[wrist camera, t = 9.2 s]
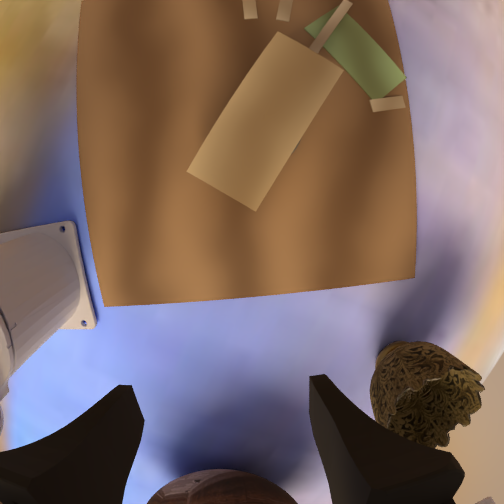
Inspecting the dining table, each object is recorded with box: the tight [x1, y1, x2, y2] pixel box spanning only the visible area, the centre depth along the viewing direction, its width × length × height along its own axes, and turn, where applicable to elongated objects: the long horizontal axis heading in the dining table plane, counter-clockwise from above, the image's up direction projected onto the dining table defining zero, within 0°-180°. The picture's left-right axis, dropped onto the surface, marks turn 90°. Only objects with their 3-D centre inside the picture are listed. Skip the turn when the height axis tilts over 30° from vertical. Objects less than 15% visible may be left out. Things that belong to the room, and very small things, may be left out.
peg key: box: [186, 0, 353, 212], centre depth 15 cm, size 4×14×4 cm, turn 149°
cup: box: [370, 341, 485, 449], centre depth 19 cm, size 8×7×8 cm
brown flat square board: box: [77, 0, 417, 307], centre depth 18 cm, size 21×22×1 cm
